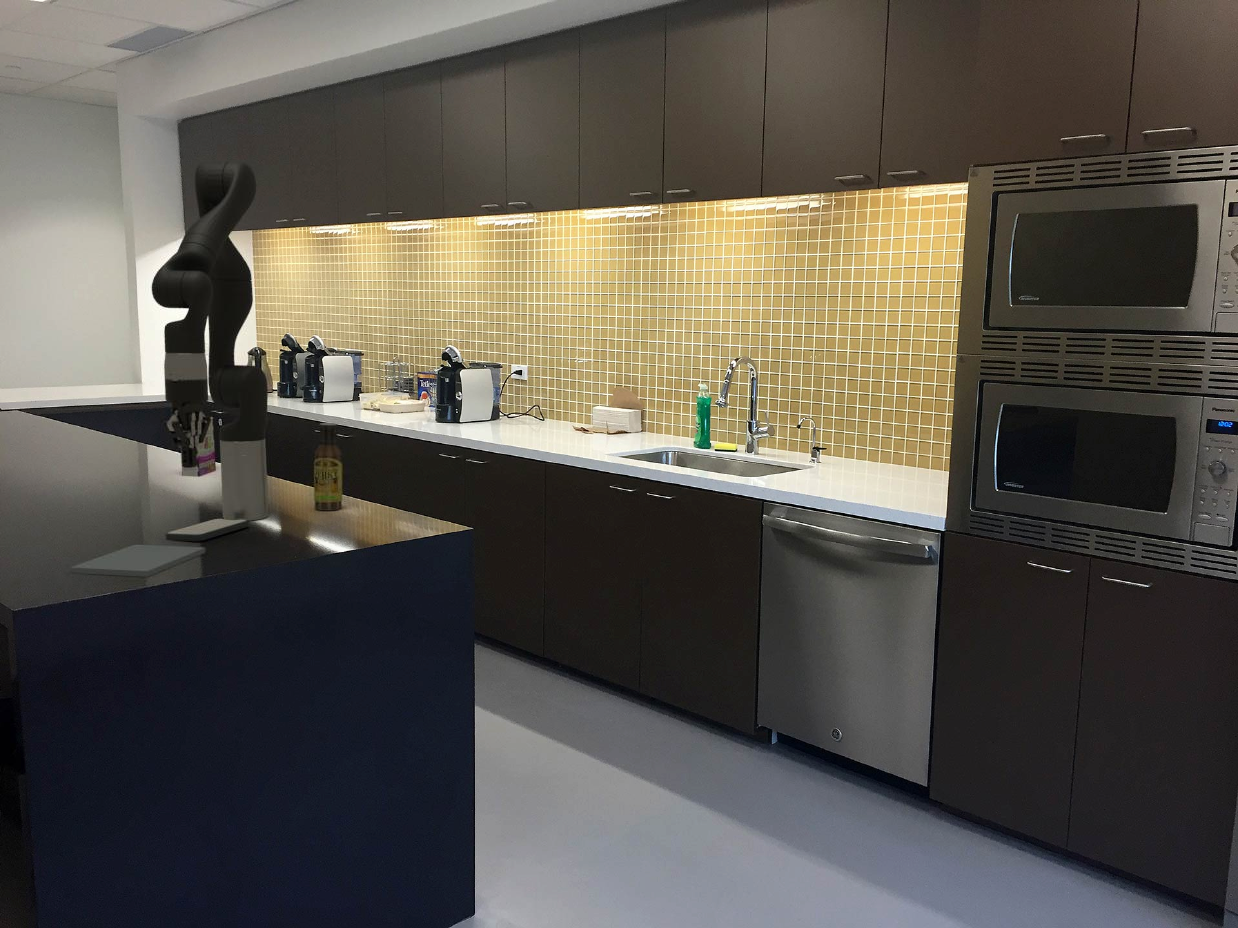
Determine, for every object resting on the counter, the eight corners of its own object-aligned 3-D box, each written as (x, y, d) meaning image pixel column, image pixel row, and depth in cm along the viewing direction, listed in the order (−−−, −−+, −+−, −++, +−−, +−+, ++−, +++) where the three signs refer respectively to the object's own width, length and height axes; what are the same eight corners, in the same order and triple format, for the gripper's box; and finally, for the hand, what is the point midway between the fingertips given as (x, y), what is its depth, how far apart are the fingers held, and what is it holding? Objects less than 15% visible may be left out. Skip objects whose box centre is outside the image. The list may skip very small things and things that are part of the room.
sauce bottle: (311, 511, 224) (308, 424, 221) (318, 506, 230) (316, 422, 227) (339, 511, 224) (337, 425, 222) (346, 506, 231) (344, 422, 228)
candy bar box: (198, 475, 275) (196, 416, 272) (216, 475, 275) (214, 416, 272) (180, 481, 264) (177, 420, 261) (199, 481, 264) (196, 420, 261)
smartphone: (200, 543, 190) (252, 526, 206) (199, 535, 190) (252, 519, 205) (162, 541, 193) (216, 525, 208) (161, 533, 192) (216, 518, 208)
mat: (135, 549, 184) (135, 544, 184) (205, 552, 183) (205, 547, 182) (70, 573, 167) (70, 567, 166) (147, 576, 165) (147, 571, 165)
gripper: (187, 375, 194) (190, 462, 196) (147, 377, 181) (151, 471, 183) (223, 376, 193) (225, 463, 195) (185, 378, 180) (188, 472, 182)
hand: (189, 467), depth 189 cm, fingers closed
